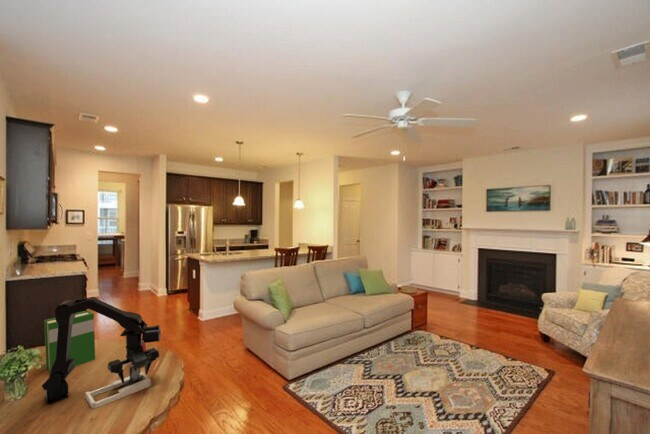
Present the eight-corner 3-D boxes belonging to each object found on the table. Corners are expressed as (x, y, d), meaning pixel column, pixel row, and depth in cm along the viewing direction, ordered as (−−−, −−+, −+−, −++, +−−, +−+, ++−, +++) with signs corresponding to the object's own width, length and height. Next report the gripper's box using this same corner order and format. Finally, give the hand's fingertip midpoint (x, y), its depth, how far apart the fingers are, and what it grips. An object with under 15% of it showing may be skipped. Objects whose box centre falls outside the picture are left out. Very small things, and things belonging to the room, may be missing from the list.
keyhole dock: (92, 409, 125) (92, 403, 124) (85, 397, 132) (85, 392, 132) (151, 385, 141) (151, 380, 141) (142, 376, 148) (142, 371, 148)
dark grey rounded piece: (128, 392, 136) (128, 371, 135) (123, 386, 140) (122, 366, 140) (146, 385, 141) (146, 365, 140) (140, 379, 146) (140, 360, 145)
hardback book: (50, 374, 149) (48, 323, 148) (46, 369, 153) (44, 320, 152) (95, 359, 163) (93, 313, 162) (90, 355, 167) (88, 310, 166)
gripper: (115, 357, 127) (116, 395, 128) (163, 342, 141) (164, 376, 142) (106, 349, 135) (107, 384, 135) (154, 335, 149) (154, 367, 149)
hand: (134, 378), depth 140 cm, fingers open, 9 cm apart
